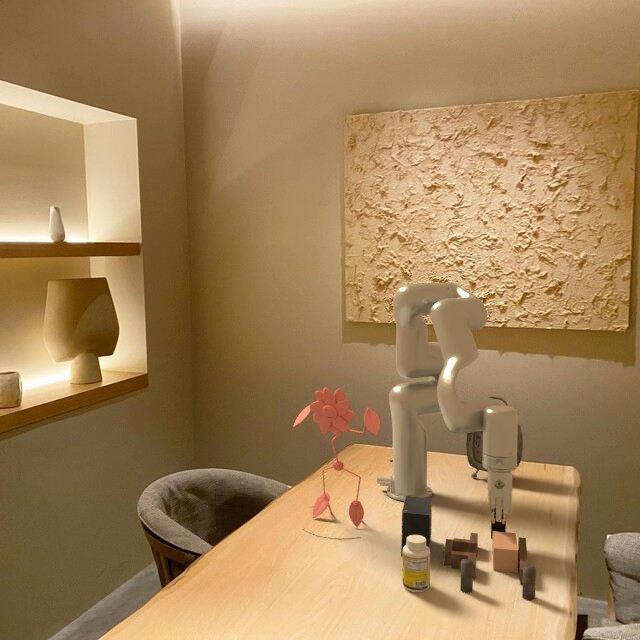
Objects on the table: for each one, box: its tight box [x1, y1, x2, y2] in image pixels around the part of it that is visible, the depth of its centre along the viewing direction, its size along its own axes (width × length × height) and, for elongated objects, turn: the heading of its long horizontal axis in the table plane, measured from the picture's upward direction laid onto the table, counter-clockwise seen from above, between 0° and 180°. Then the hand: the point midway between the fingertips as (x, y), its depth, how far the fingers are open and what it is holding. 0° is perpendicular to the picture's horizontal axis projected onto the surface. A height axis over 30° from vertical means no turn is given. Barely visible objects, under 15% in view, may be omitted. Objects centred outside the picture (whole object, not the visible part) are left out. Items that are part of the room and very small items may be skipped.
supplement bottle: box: [402, 535, 431, 593], centre depth 139 cm, size 6×6×10 cm
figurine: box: [292, 387, 382, 541], centre depth 169 cm, size 15×26×35 cm, turn 56°
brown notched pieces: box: [443, 532, 537, 601], centre depth 146 cm, size 18×22×6 cm
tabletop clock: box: [465, 396, 524, 479], centre depth 202 cm, size 14×9×25 cm, turn 55°
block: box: [491, 531, 519, 574], centre depth 150 cm, size 5×9×5 cm, turn 167°
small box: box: [400, 496, 433, 557], centre depth 157 cm, size 11×6×10 cm, turn 168°
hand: (498, 538), depth 157 cm, fingers closed
